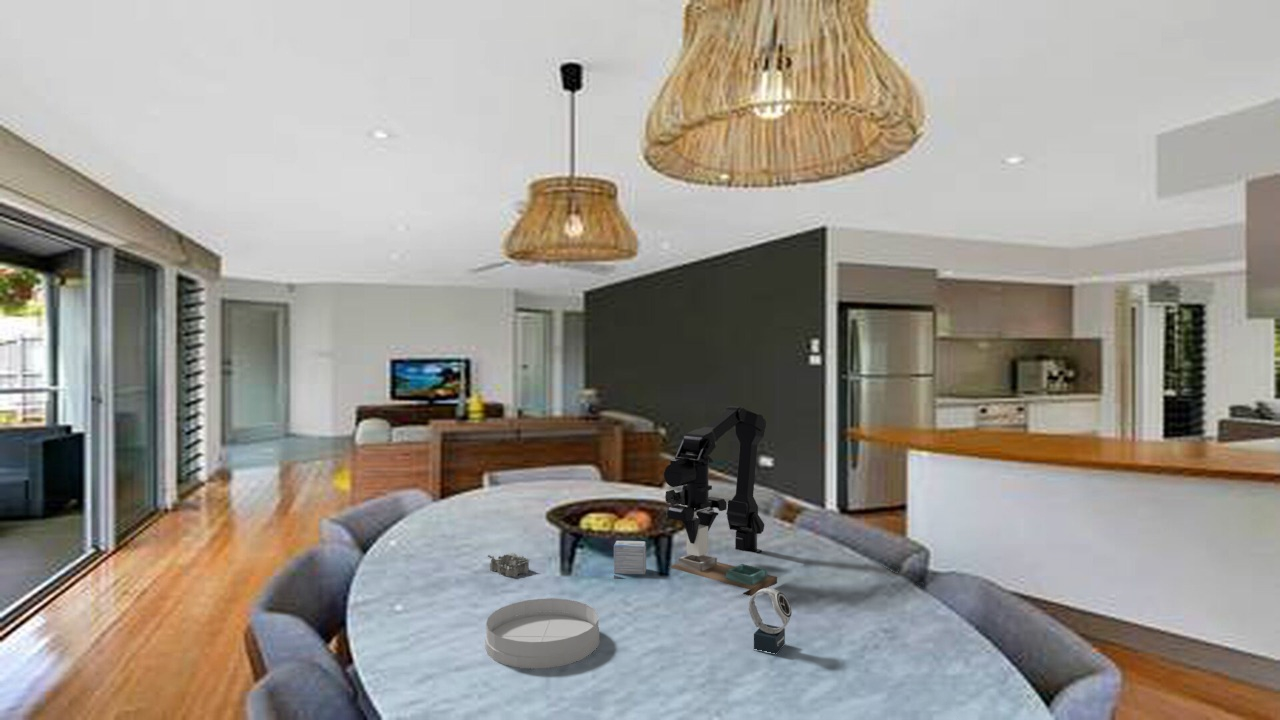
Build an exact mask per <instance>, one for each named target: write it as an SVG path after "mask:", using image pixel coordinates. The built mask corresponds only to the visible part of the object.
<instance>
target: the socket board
mask: <svg viewBox="0 0 1280 720" xmlns="http://www.w3.org/2000/svg"><path fill="white" fill-rule="evenodd" d="M717 559H718V558H717V556H712V555H707V554H704V555H701V556H695V555H691V554H685V555H684V556H681V557H678V560H677V561H678V563H675V564H672V565H669V566H670V567H669V568H670V569H673V570H677V571H681V572H685V573H688V574H693V575H695V576H698V577H699V576H700V577H704V578H707V579H711V580H714V581H717V582H720V583H721V582H722V583H725V584H728V585H731V586H737V587H740V588H743V589H746V590H747V591H745V592H742V593H743V594H742V595H746V596H749V595H750V596H749V597H752V596H753V595H754V594H755V593H756V592H757V591H759V590H760V589H763V588H767V587H768V588H770V587H772V586H774V585H775V584H778V577H777V576H774V575H770V574H768V571H767V569H764V568H761V567H757V566H752V565H750V564H749V565H747V564H743V563H741V564H739V565H731V564H728V563H723V562H719V561H718V560H717ZM769 586H770V587H769Z"/></svg>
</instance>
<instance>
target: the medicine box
mask: <svg viewBox="0 0 1280 720" xmlns="http://www.w3.org/2000/svg"><path fill="white" fill-rule="evenodd" d="M646 572H647V542H646V541H641V540H640V541H639V540H616V541H615V543H614V545H613V574H620V575H621V574H623V575H624V574H625V575H627V574H628V575H646ZM613 579H615V580H626V578H624V577H622V576H619V575H613Z"/></svg>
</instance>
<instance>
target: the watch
mask: <svg viewBox="0 0 1280 720" xmlns="http://www.w3.org/2000/svg"><path fill="white" fill-rule="evenodd" d="M759 594H768V595H769V596H768V597H769V598H770V600H771V602H772V603H771V605H772V608H773V610H774V611H775V613H776V615H777V616H778V617H779V618H780V619H781V622H782V624H783V625H782V626H775V625H771V624H765V623H763V618H762V617H761V615H760V613H759V610H758V607H757V605H756V602H755V599H756V597H757V596H758V595H759ZM750 597H751V598H750V599H749V603H748V612H749V614H750V617H751V619H752V622H753V624H754V625H755V627H756V628H758V629H757V630H756V631H755V632H754V633H753V650H754V649H757V650H762V651H767V652H771V653H775V654H776V653H777V652H778V651H779V650H780V651H781V649H782V648H783V647H784V646H785V645H784V644H786V642H785V640H786V639H785V638H786V627H787V626H788V623H790V619H791V617H792V612H793V611H792V607H791V604H790V602H789V600H788V598H787V596H786V595H785V594H784V593H783V592H781V591H779V590H777V589H774V588H772V587H771V588H770V587H768V588H763V589H760V590H759V591H757V592H756V593H755V594H753V595H751V596H750ZM783 645H784V646H783ZM782 646H783V647H782ZM781 647H782V648H781ZM780 648H781V649H780ZM780 651H779V652H780ZM779 652H778V653H779ZM778 653H777V654H778ZM777 654H776V655H777Z"/></svg>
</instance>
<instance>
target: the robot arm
mask: <svg viewBox="0 0 1280 720" xmlns="http://www.w3.org/2000/svg"><path fill="white" fill-rule="evenodd" d="M766 427H767V422H766V419H765V418H764V416H763V415H762V414H760V413H755V412H752V411H750V410H747V409H746V408H743V407H742V406H732V405H730V406H727V407H725V409H724V410H723V411H722V412H721V413H720V414H719V415H717V416H716V417H715V418H713V419H712V421H710V422H709V423H707V424H706V425H705V426H704V427H701V428H696V429H693V430H691V431H689V432H687V433H686V434H685V435H684V436H683V439H682V440H681V443H680V445H679V447H678V450H677V452H676V454H675V457H674V458H672V459H670V460H669V461H670V462H669V463H670V464H668V465H667V466H666V468H664V469H665V470H664V471H663V477H664V480H665V482H666V484H667V485H668V486H670V487H671V488H676V487H682V489H681V491H677V492H676V491H675V489H671V490H666V491H665V496H664V498H665V502H666V503H667V504H669V505H670V507H668V508H667V509H666V518H667V519H670V520H675V521H679V522H681V523H682V524H683V526H684V529H685V532H686V536H687V535H688V538H689V540H690V543H692V544H694V543H695V540H696V536H697V531H698V527H699V524H700V525H705V526H708V532H709V531H710V529H711V527H712V525H713V523H714V521H715V519H716V518H717V516H719V512H724V511H726V518H727V521H728V522H727V523H728V527H729V530H730V531H731V530H733V531H735V538H734V539H735V540H734V541H735V545H734V546H735V550H738V551H742V552H743V551H746V552H751V553H754V554H760V553H762V552H763V551H762V549H759V548H758V535H761V534H762V533H763V532H764V530H765V523H764V522H763V520H762V518H761V516H759V506H758V503H757V502H756V499H755V497H754V490H755V479H756V468H757V467H756V466H757V454H758V453H757V451H758V445H759V444H760V442H761V441H762V439H763V438H764V435H765V431H766ZM732 428H734V431H735V432H734V433H735V435H736V439H737V441H738V443H739V452H738V464H737V474H736V475H737V476H736V483H735V485H736V486H735V487H736V488H735V493H734V494H735V495H734V496H733V497H732V499H728V501H726V500H725V498H722V497H715V496H709V491H710V490H713V486H712V485H710V484H709V483H710V482H709V476H710V475H709V473H710V472H709V469H710V468H709V466H710V465H709V464H712V463H714V460H713V458H711V457H710V455H711V454H712V453H713V452H714V450H715V449H716V447H717V442H718V440H719V439H721V438H722V437H723V436H724V435H725V434H726V433H728V432H729V431H730V430H731V429H732ZM714 508H715V509H717V510H718V511H719V512H717V511H715V509H714Z"/></svg>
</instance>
